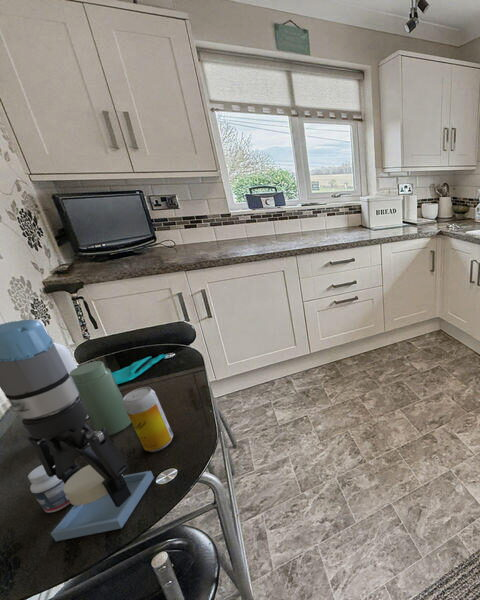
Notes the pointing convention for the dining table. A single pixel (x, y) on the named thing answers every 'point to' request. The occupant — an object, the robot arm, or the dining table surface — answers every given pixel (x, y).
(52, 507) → the pill bottle
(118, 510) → the dish
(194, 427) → the dining table surface
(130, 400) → the beer can
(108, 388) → the flask
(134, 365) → the turquoise rubber glove
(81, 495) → the flask lid
